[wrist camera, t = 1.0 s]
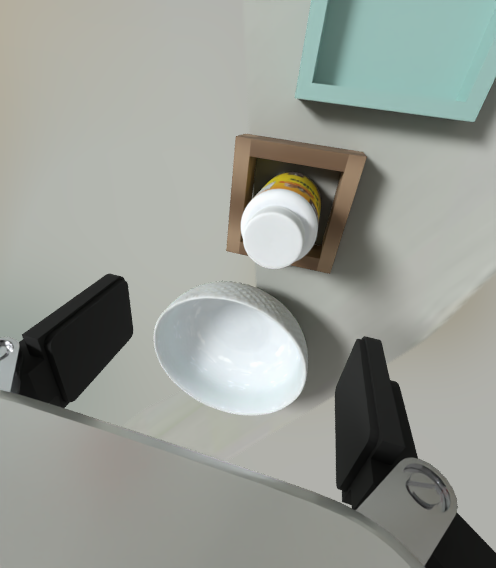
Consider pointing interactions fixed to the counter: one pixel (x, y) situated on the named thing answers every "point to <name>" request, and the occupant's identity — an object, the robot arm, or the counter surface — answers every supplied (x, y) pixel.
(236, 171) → the socket block
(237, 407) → the cereal bowl
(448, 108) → the tray
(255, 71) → the counter surface
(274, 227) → the supplement bottle
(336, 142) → the counter surface
